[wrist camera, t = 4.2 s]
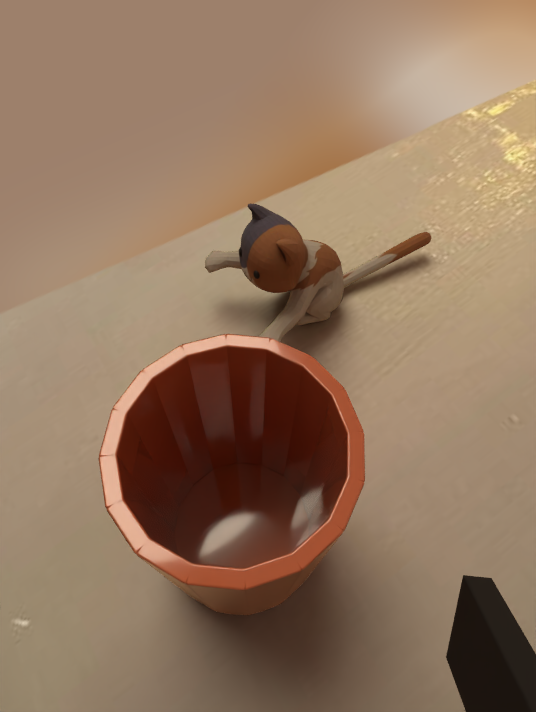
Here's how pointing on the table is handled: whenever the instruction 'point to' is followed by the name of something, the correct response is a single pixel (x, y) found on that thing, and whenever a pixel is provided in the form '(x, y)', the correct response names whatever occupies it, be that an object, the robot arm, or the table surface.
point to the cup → (233, 469)
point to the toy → (298, 268)
